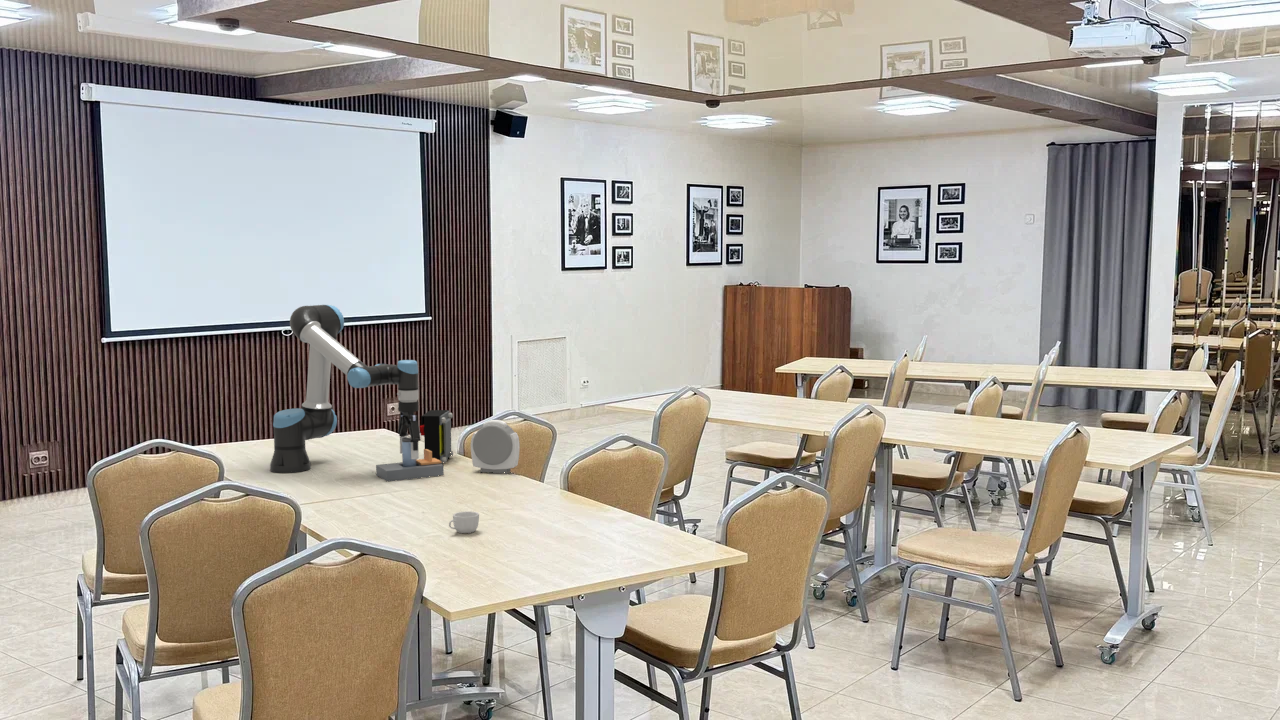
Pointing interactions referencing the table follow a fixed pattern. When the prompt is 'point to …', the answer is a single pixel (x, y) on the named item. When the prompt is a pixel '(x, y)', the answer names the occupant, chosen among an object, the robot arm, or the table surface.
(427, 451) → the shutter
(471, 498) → the table surface
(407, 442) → the blue canister
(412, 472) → the socket block
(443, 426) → the electrical component
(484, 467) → the alarm clock
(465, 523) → the teacup
